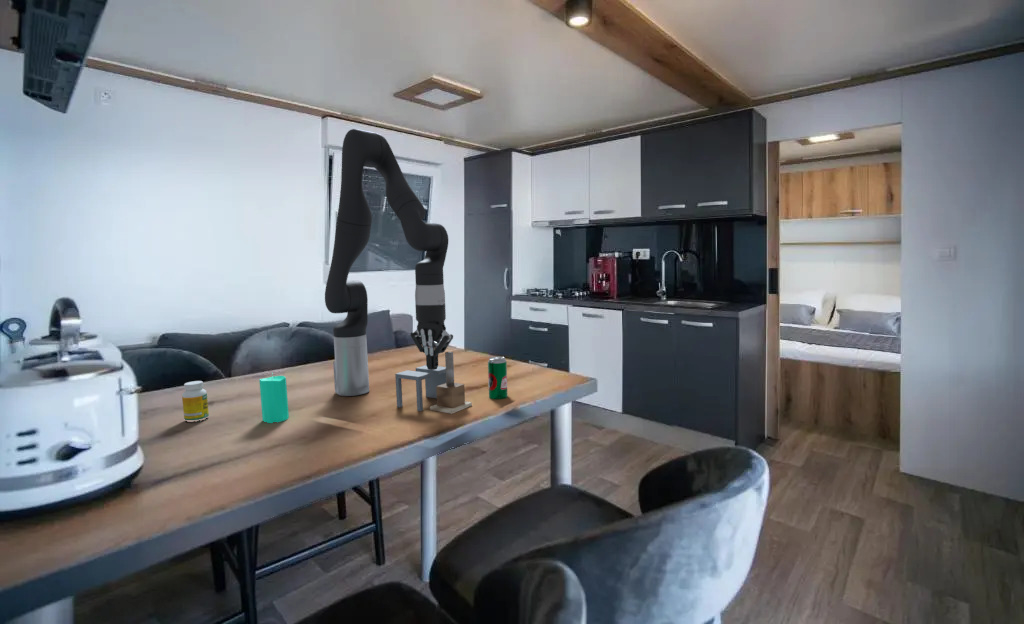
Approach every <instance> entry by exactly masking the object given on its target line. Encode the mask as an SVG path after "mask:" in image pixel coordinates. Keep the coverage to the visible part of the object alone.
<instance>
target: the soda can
mask: <svg viewBox="0 0 1024 624" xmlns="http://www.w3.org/2000/svg"><path fill="white" fill-rule="evenodd" d="M507 363H508V362H507V360H506V357H504V356H491V357H489V358H488V361H487V376H488V377H487V378H488V381H487V382H488V398H489V399H490V400H491V399H492V400H504V399H507V398H508V396H509V395H508V365H507Z"/></svg>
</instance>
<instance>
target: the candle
mask: <svg viewBox="0 0 1024 624" xmlns="http://www.w3.org/2000/svg"><path fill="white" fill-rule="evenodd" d="M273 374H274V373H273V372H271V375H272V376H270V377H263V378H259V379H258V380H259V393H260V404H261V405H260V406H261V417H262V422H263V421H264V422H267V423H266V424H274V423H273V422H277V423H280V422H285V421H286V420H287V421H288V419H289V418H290V416H289V415H290V414H289V411H290V410H289V401H288V388H287V377H286V376H284V375H275V376H274V375H273ZM264 422H263V423H264Z"/></svg>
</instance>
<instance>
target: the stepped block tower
mask: <svg viewBox="0 0 1024 624" xmlns="http://www.w3.org/2000/svg"><path fill="white" fill-rule="evenodd" d="M444 355H445V357H444V358H445V361H444V362H445V367H446V383H445V384H442V385H439V386H436V391H437V398H436V404H434V405H431V406H429V410H430V411H435V412H441V413H446V414H450V415H451V414H455V413H457V412H459V411H462V410H464V409H466V408H469V407H472V404H473V403H472V402H471V401H466V396H465V395H466V394H465V391H466V390H465V384H464V383H459V382H455V367H454V351H445V352H444Z"/></svg>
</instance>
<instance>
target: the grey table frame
mask: <svg viewBox="0 0 1024 624" xmlns="http://www.w3.org/2000/svg"><path fill="white" fill-rule="evenodd" d="M394 376H395V377H394V378H395V391H396V393H395V394H396V408H403V405H404V404H403V389H402V387H403V385H402V384H403V383H402V379H403V380H409V381H410V380H411V381H415V391H416V412H417V411H418V412H422V411H424V407H423V406H424V402H423V401H424V399H423V380H424V383H425V386H424V387H425V397H426V398H433V399H437V391H436V386H439V385H442V384H445V383H446V366H442V365H441V366H439V365H438V367H437V369H435V370H429V369H428V368H427V365H426V364H424V365H421V366H417V367H415V370H409V369H407V370H402V371H400V372H396V373H395V374H394Z"/></svg>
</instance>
